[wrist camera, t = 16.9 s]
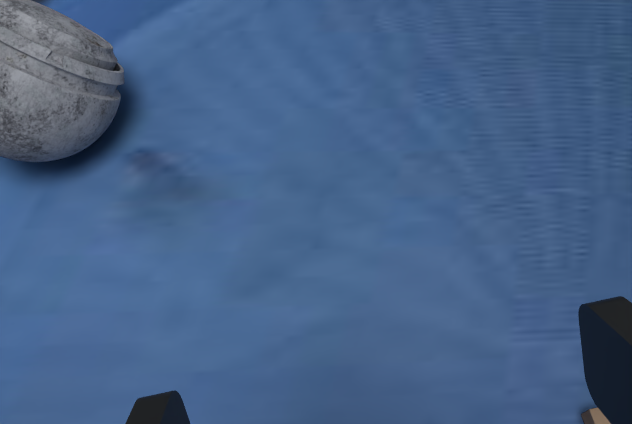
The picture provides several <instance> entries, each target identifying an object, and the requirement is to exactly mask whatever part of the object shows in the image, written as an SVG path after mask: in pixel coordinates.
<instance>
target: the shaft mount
mask: <svg viewBox="0 0 632 424" xmlns="http://www.w3.org/2000/svg"><path fill="white" fill-rule="evenodd" d="M581 416H582V418H583V421H584V424H611V423H610V422H609V421H608V419H607V418H606V417H605V416H604V415H603V413H602V412H601V411H600V410H599V408H593V409H589V410H587V411H586V412H584V413H582V414H581Z"/></svg>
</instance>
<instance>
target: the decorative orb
mask: <svg viewBox="0 0 632 424" xmlns="http://www.w3.org/2000/svg"><path fill="white" fill-rule="evenodd" d="M122 84H124V69H123V68H122V66H121V65H120V64H119V63H118V62H117V59H116V57H115V56H114V54H113V47H112V45H111V44H110V43H108V42H107V41H106V40H105V39H103V38H102V37H100V36H99V35H97V34H96V33H94V32H92V31H91V30H89V29H87V28H86V27H84V26H82V25H81V24H79V23H77V22H76V21H74V20H72V19H70V18H69V17H67V16H65V15H63V14H61V13H59V12H57V11H55V10H53V9H50V8H48V7H46V6H44V5H41V4H39V3H36V2H34V1H31V0H0V156H1V157H5V158H8V159H12V160H18V161H25V162H46V161H53V160H58V159H62V158H66V157H69V156H71V155H74V154H76V153H78V152H80V151H82V150H84V149H85V148H87V147H88V146H90V145H91V144H92V143H94V142H95V141H96V140H97V139H98V138H99V137H100V136H101V135H102V134H103V133H104V132H105V131H106V129H107V128H108V127H109V125H110V124H111V122H112V120H113V118H114V116H115V115H116V112H117V109H118V107H119V103H120V99H121V95H120V93H119V91H118V90H117V89H116V88H117V86H118V85H122Z"/></svg>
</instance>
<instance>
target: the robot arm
mask: <svg viewBox="0 0 632 424" xmlns="http://www.w3.org/2000/svg"><path fill="white" fill-rule="evenodd" d="M579 326H580V335H581V345H582V354H583V364H584V373H585V379H586V383H587V386H588V389H589V392H590V394H591V396H592V399H593V401H594V402H595V404H596V406H597V407H598V408H599V410H600V411H601V412H602V413H603V415H604V416H605V417H606V418H607V419H608V421H609V422H610V423H611V424H632V303H631V302H630V301H628V300H627V299H626V298H624V297H621V296H619V297H614V298H610V299H605V300H600V301H596V302H591V303H586V304H582V305H581V306H580V308H579ZM126 424H190V421H189V418H188V415H187V412H186V409H185V406H184V403H183V401H182V398H181V396H180V394H179V393H178V392H177V391H170V392H165V393H161V394H156V395H151V396H147V397H142V398H139V399H137V400H136V402H135V404H134V406H133V409H132V411H131V413H130V415H129V417H128V419H127V422H126Z"/></svg>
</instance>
